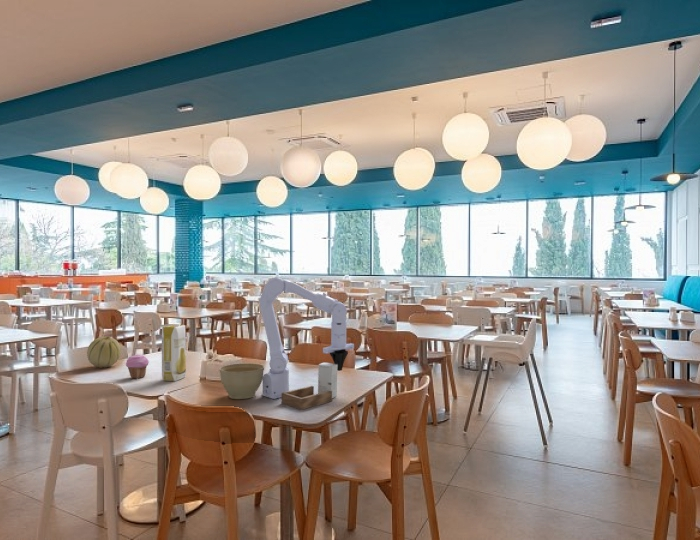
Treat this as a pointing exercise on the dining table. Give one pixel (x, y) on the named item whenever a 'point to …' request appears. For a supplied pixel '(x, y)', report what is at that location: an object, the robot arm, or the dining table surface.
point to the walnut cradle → (305, 398)
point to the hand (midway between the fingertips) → (338, 370)
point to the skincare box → (327, 378)
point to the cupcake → (137, 365)
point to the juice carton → (173, 352)
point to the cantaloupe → (104, 352)
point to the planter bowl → (241, 379)
